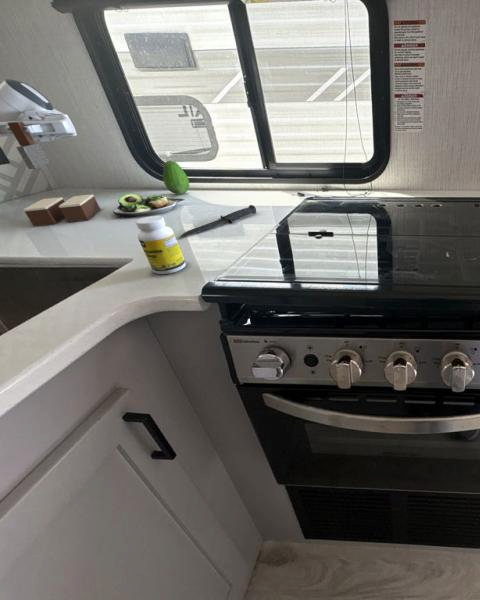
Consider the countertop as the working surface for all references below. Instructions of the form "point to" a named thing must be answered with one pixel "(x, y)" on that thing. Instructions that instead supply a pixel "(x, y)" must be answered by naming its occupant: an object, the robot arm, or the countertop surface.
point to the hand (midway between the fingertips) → (17, 130)
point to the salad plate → (144, 205)
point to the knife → (223, 220)
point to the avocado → (175, 178)
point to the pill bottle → (160, 245)
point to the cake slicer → (28, 147)
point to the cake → (62, 210)
